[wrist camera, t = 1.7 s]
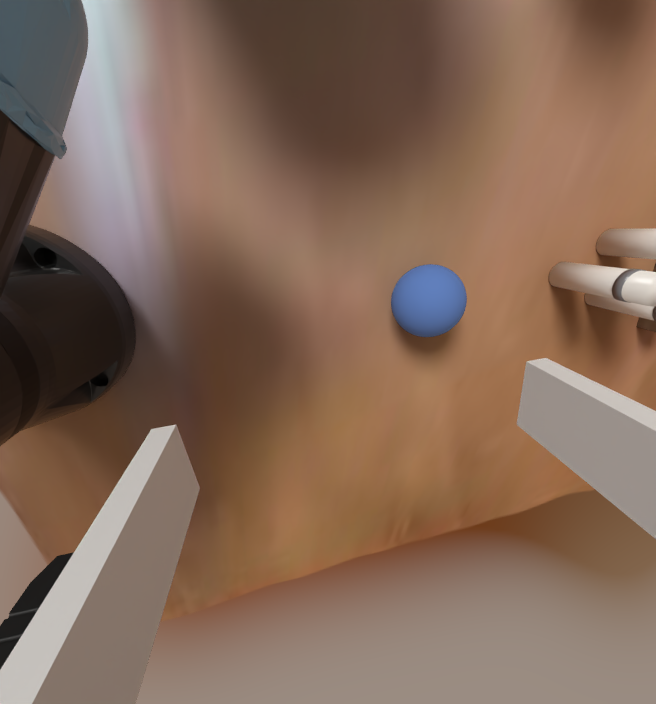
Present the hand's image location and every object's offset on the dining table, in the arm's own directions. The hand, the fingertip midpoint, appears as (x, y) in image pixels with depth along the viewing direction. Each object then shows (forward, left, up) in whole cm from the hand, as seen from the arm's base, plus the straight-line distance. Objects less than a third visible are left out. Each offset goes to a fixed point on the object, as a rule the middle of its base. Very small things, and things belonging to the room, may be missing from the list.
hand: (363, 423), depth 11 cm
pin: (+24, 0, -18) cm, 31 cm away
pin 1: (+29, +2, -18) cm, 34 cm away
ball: (+9, 0, -15) cm, 18 cm away
